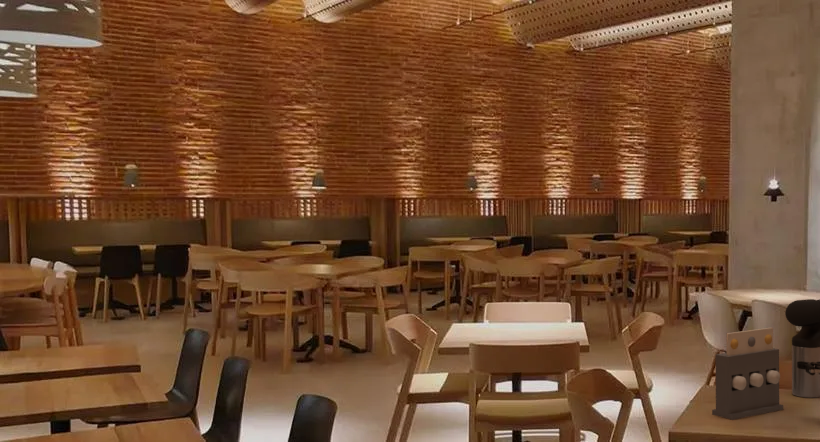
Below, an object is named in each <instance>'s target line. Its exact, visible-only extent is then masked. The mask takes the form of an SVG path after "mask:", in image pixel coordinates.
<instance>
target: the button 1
mask: <svg viewBox="0 0 820 442" xmlns="http://www.w3.org/2000/svg"><path fill="white" fill-rule="evenodd" d="M745 387H746V379H745V378H744V377H742V376H737V375H733V376H732V388H734V389H738V390H743V389H744V388H745Z"/></svg>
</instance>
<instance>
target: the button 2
mask: <svg viewBox="0 0 820 442" xmlns="http://www.w3.org/2000/svg"><path fill="white" fill-rule="evenodd" d="M780 380H781V374H780V371H779V372H778V371H774V370H769V369H768V370H766V382H768V383H772V384H777V383H778V382H779V383H780Z"/></svg>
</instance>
